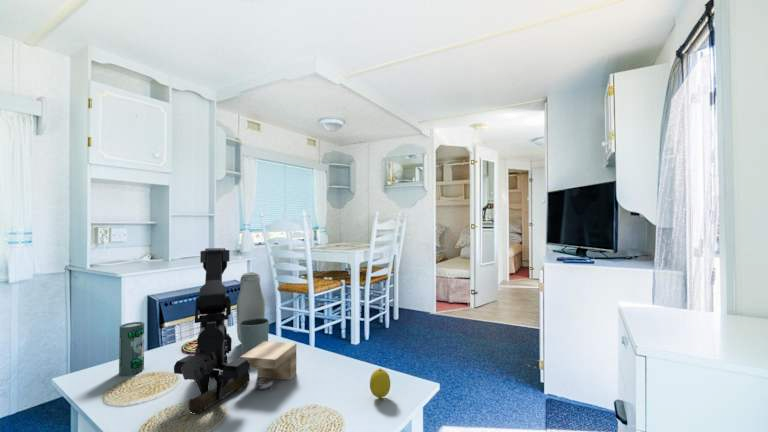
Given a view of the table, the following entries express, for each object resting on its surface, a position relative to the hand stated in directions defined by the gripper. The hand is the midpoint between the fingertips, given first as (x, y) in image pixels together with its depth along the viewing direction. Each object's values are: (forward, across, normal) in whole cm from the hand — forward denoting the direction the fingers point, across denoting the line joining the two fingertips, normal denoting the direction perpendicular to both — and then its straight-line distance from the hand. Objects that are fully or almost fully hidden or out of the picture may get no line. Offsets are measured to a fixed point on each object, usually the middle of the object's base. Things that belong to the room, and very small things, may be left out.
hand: (211, 399), depth 89 cm
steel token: (+1, +9, +10) cm, 14 cm away
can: (+1, -39, +12) cm, 41 cm away
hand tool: (+2, 0, +4) cm, 4 cm away
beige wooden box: (+1, +9, +14) cm, 16 cm away
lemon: (+1, +43, +10) cm, 44 cm away
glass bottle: (+1, -16, +42) cm, 45 cm away
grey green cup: (+1, -8, +32) cm, 33 cm away
